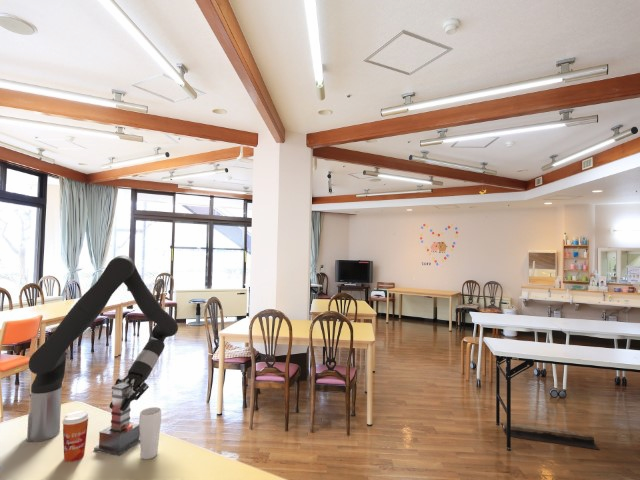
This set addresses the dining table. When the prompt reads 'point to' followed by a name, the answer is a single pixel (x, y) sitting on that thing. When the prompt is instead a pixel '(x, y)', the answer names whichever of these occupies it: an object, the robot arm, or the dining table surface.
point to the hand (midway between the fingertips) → (116, 409)
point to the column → (118, 416)
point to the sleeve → (118, 440)
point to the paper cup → (75, 435)
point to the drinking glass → (149, 432)
